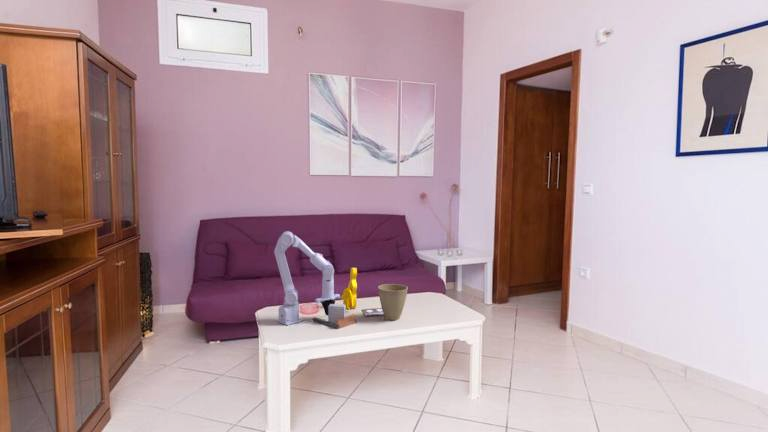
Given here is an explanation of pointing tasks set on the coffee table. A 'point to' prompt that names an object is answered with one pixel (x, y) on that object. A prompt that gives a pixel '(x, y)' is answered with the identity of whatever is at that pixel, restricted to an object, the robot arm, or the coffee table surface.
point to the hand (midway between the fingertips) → (328, 314)
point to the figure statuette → (350, 291)
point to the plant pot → (392, 300)
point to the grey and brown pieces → (338, 321)
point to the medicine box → (336, 312)
